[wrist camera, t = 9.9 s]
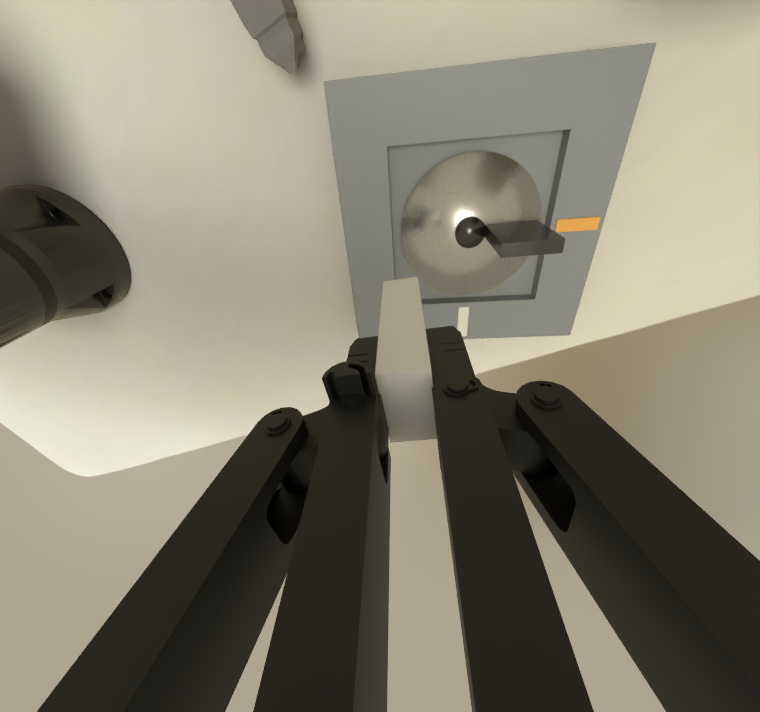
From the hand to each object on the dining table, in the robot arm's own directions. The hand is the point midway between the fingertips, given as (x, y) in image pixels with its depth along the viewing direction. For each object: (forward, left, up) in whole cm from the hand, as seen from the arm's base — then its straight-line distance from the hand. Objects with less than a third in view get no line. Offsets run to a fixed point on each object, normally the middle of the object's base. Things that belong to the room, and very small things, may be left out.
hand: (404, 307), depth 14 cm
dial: (+7, -2, -23) cm, 24 cm away
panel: (+7, -2, -25) cm, 26 cm away
